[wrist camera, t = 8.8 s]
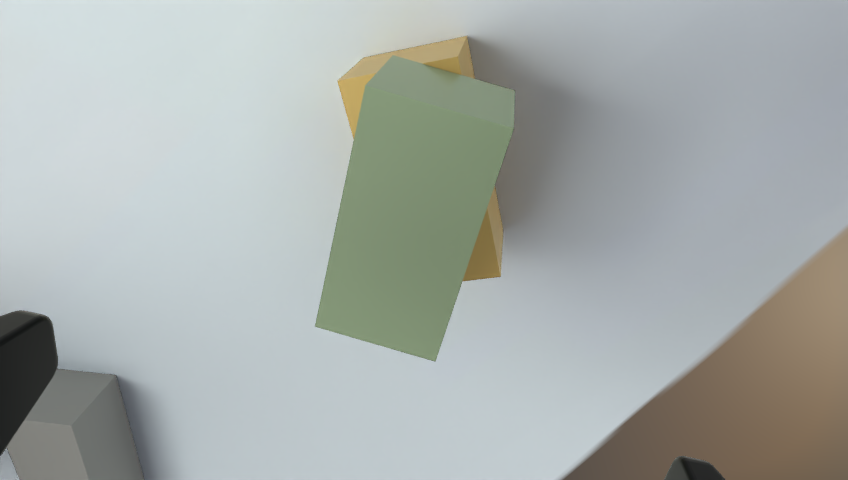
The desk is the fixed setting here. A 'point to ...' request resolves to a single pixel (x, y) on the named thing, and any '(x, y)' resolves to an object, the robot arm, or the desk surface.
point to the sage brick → (413, 204)
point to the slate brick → (77, 432)
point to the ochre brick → (451, 59)
